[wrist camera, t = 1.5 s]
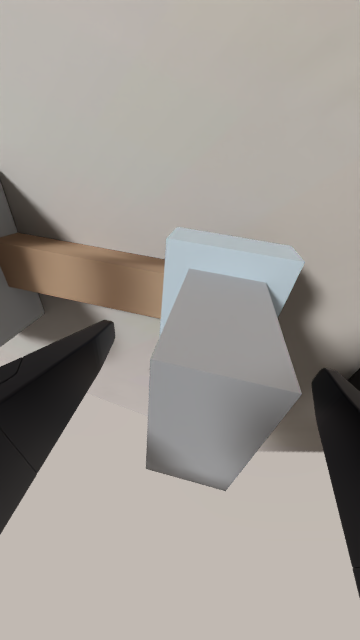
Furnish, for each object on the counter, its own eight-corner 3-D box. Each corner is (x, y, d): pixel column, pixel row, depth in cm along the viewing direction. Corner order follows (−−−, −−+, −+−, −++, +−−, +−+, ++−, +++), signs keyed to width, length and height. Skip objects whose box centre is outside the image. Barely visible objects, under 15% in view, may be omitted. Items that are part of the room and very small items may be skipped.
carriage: (291, 245, 9) (396, 371, 3) (239, 369, 14) (245, 506, 8) (177, 226, 9) (98, 308, 4) (165, 352, 14) (122, 471, 8)
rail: (263, 277, 12) (268, 293, 11) (248, 318, 14) (250, 337, 12) (17, 232, 14) (-11, 240, 12) (31, 274, 15) (8, 286, 14)
